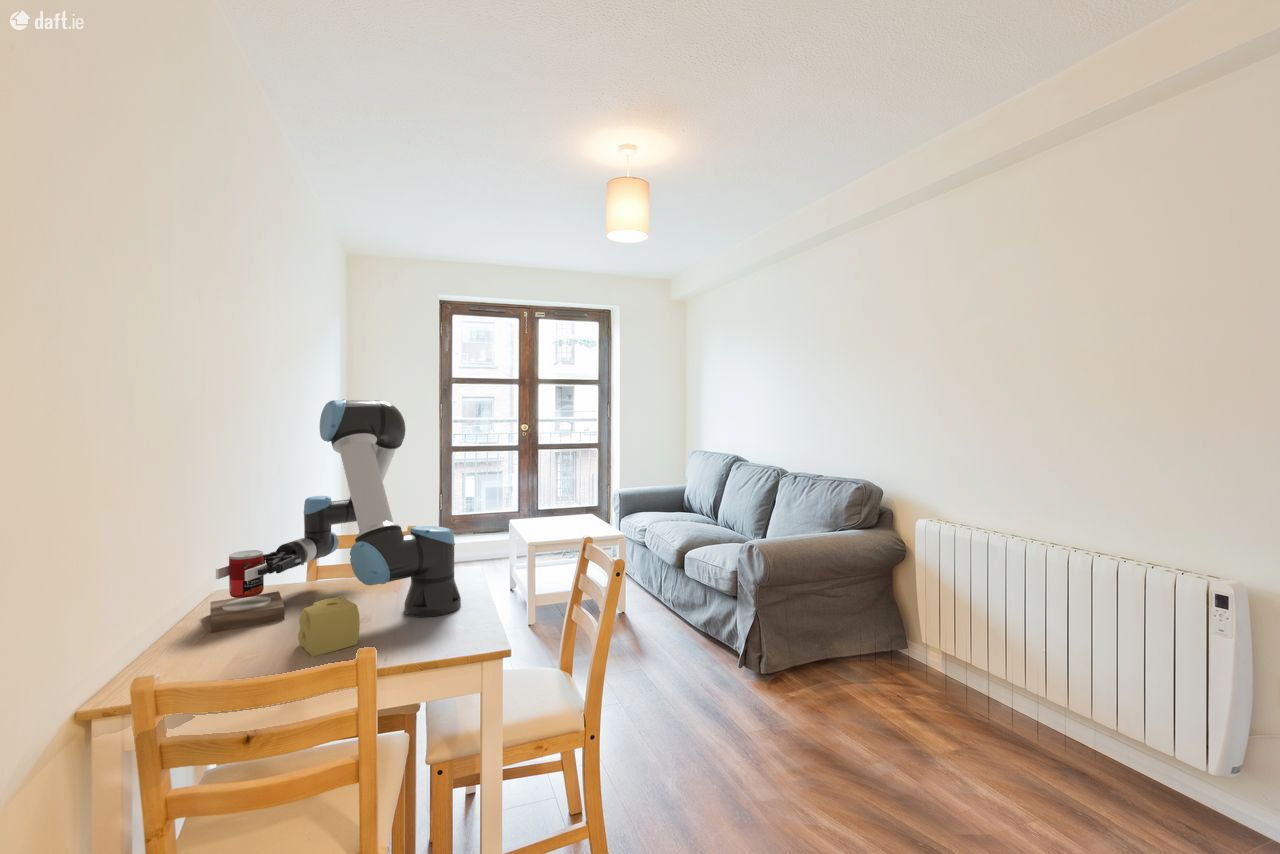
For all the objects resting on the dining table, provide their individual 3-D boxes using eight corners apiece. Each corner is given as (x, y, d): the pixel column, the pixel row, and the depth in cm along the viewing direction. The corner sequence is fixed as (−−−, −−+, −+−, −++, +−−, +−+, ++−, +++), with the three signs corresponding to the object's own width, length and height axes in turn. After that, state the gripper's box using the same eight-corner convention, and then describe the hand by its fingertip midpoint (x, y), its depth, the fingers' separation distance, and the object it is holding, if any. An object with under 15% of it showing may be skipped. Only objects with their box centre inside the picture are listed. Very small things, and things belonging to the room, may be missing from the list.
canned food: (247, 599, 153) (246, 558, 153) (221, 597, 155) (221, 556, 154) (270, 590, 161) (270, 551, 160) (246, 588, 162) (246, 549, 162)
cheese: (298, 645, 139) (297, 604, 139) (346, 633, 147) (345, 594, 146) (311, 658, 132) (310, 615, 131) (360, 645, 139) (360, 604, 139)
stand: (284, 619, 156) (284, 605, 156) (210, 632, 146) (210, 617, 146) (279, 603, 169) (278, 590, 169) (210, 614, 159) (210, 600, 159)
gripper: (326, 567, 174) (266, 591, 151) (264, 564, 177) (197, 586, 154) (326, 542, 173) (266, 562, 151) (264, 539, 177) (196, 558, 154)
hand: (231, 574), depth 153 cm, fingers closed on canned food, 8 cm apart
